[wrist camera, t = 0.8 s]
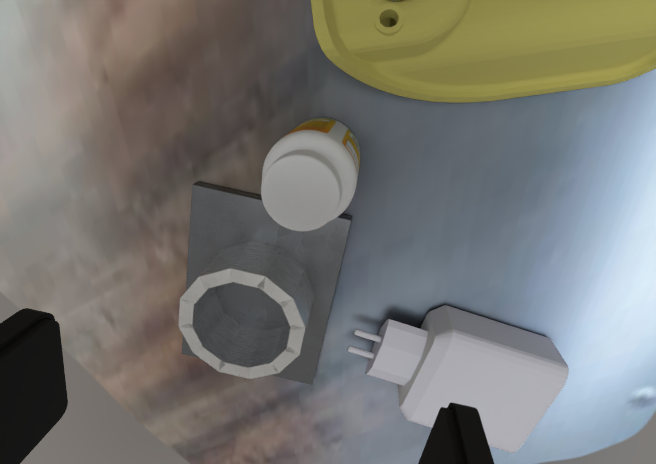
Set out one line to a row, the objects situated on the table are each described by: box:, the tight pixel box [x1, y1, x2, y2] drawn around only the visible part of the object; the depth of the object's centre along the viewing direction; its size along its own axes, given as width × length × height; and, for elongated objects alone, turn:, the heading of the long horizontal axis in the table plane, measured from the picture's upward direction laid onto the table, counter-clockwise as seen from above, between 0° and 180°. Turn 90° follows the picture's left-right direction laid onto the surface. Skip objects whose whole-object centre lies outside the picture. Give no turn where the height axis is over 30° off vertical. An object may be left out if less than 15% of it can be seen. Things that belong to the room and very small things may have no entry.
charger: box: [348, 305, 569, 453], centre depth 32 cm, size 5×9×15 cm
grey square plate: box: [179, 181, 352, 385], centre depth 31 cm, size 16×12×6 cm
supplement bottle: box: [261, 118, 360, 231], centre depth 24 cm, size 5×5×10 cm
